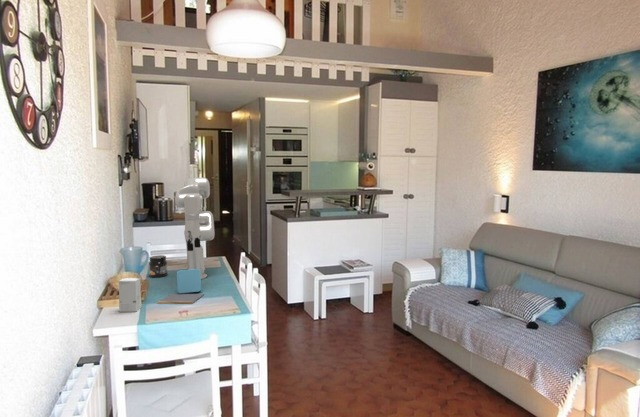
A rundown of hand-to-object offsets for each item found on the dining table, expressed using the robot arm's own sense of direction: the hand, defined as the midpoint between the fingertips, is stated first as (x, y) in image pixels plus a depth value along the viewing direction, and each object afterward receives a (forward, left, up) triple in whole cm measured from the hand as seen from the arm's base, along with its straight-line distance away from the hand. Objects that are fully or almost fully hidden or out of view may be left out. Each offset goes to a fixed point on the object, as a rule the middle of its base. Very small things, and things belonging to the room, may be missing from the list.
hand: (194, 249), depth 244 cm
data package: (+9, 0, -22) cm, 24 cm away
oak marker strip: (+26, 0, -22) cm, 34 cm away
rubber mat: (+19, 0, -22) cm, 29 cm away
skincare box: (+37, -17, -22) cm, 46 cm away
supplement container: (-28, -36, -22) cm, 51 cm away
